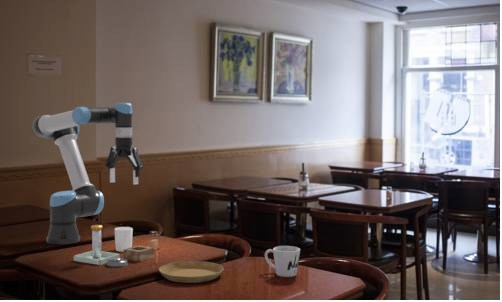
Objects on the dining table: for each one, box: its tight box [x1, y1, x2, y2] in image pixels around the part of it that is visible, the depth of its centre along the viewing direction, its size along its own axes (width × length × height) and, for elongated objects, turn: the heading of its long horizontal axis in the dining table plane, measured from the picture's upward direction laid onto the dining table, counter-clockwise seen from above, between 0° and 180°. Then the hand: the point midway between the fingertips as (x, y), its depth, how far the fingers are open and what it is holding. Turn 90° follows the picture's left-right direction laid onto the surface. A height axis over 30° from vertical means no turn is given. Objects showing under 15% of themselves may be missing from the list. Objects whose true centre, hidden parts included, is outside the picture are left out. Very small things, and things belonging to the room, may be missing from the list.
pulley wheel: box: [106, 257, 129, 268], centre depth 250 cm, size 8×8×3 cm
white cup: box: [114, 226, 134, 252], centre depth 276 cm, size 8×8×10 cm
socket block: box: [122, 245, 155, 262], centre depth 261 cm, size 9×9×4 cm
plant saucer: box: [158, 260, 224, 284], centre depth 235 cm, size 24×24×3 cm
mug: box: [264, 245, 301, 278], centre depth 240 cm, size 10×15×10 cm
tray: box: [73, 250, 121, 266], centre depth 257 cm, size 14×12×2 cm
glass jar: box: [90, 224, 103, 260], centre depth 257 cm, size 5×5×14 cm
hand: (124, 183), depth 285 cm, fingers open, 13 cm apart
